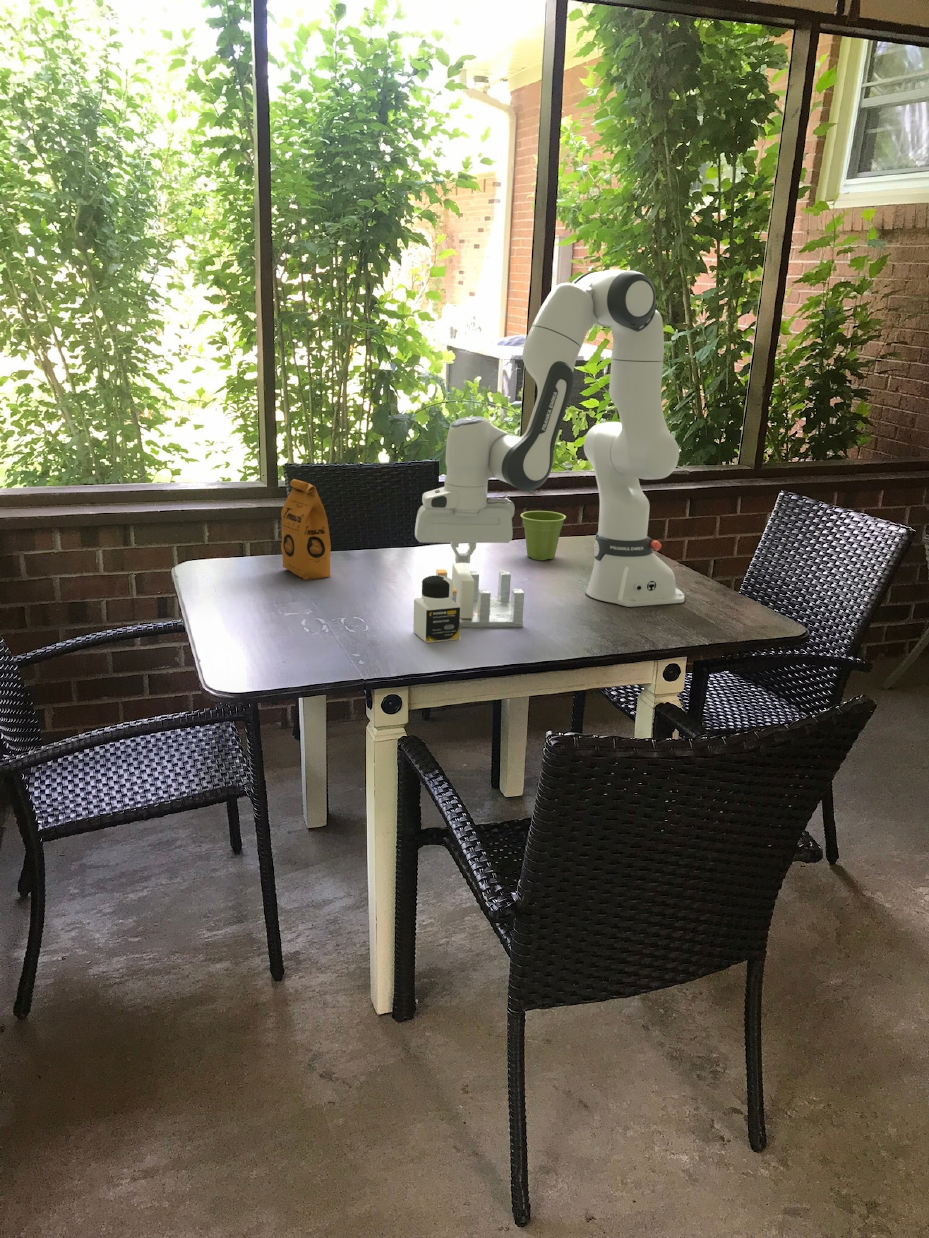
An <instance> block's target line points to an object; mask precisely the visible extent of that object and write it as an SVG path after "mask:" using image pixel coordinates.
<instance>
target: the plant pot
mask: <svg viewBox="0 0 929 1238" xmlns="http://www.w3.org/2000/svg"><path fill="white" fill-rule="evenodd" d="M520 517H521V519H522V525H523V527H524V536H525V545H526V547H525V548H526V553H527V558H530V559H532V560H536V561H537V560H538V561H546V560H553V559H555V557H556V552H557V548H558V543H559V540H560V539H559V538H560V536H561V535H560V534H561V530H562V527H563V525H564V520H566V518H567V516H566V515H565V514H563V513H560V512H555V511H548V510H531V511H525V512H522V513H521V514H520Z"/></svg>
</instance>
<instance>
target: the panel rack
mask: <svg viewBox="0 0 929 1238" xmlns="http://www.w3.org/2000/svg"><path fill="white" fill-rule="evenodd" d="M468 571H469V572H470V574H471V576H472V578H473V579H474V603H473V618H460V623H459V629H475V628H477V629H480V628H487V629H489V628H524V627H523V626H524V621H523V620H524V607H525V606H524V604H525V592H524V591H523V589H522V588H511V578H512V577H511V575H512V574H511V572H509V570H499V571H498V587H497V588H498V589H497V591H498V592H497V595H495V596H494V595H493V596H492V595H491V591H490V590H489V588H479V587H480V574H479V572H478V571H477V570H468ZM435 572H436V573H435V574H436V575H435V576H445V577H448V571H447V570H446V569H444V568H442V569H437V568H436V571H435ZM510 594H511V596H510ZM456 597H457V591H456V589H455V587H453V597H452V599H451V600H453V601H454V602H455V603H456ZM510 597H511V598H510Z"/></svg>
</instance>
